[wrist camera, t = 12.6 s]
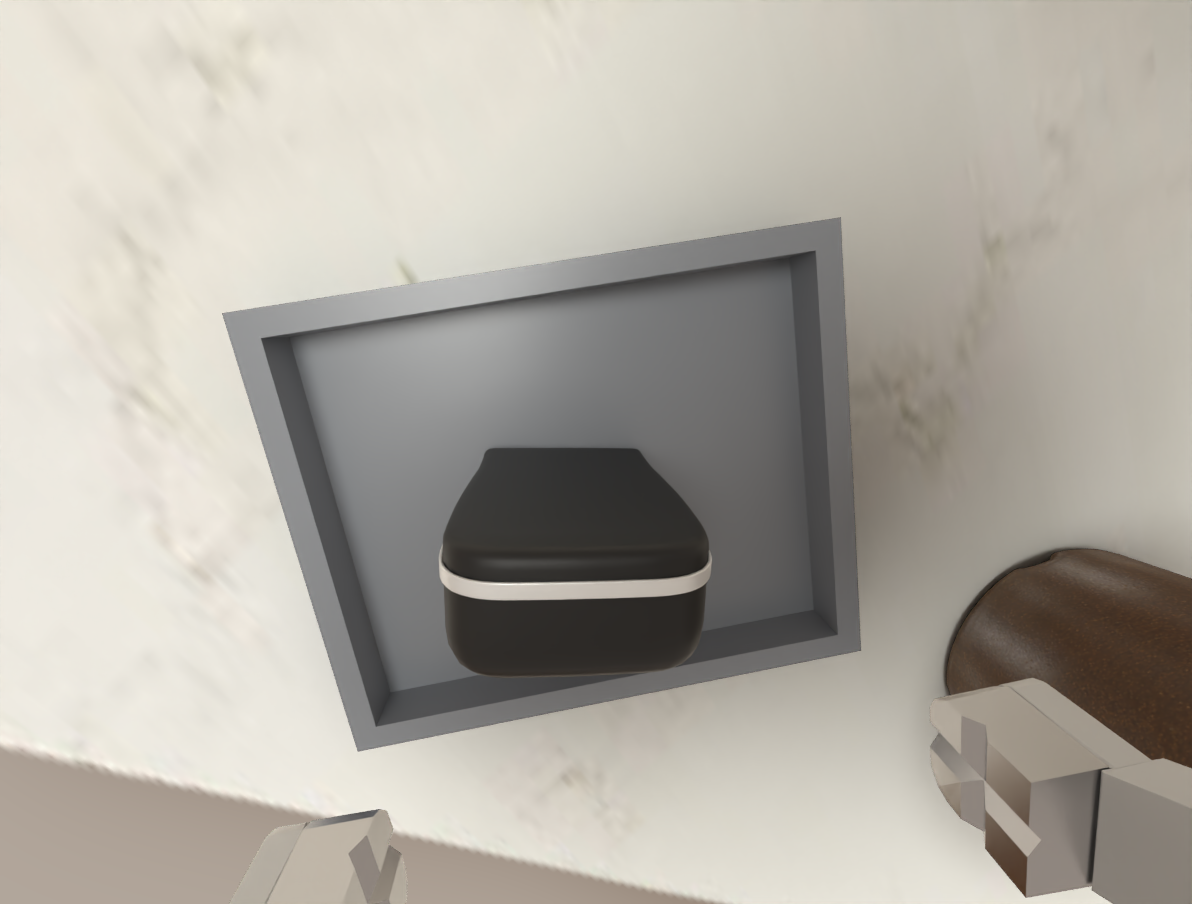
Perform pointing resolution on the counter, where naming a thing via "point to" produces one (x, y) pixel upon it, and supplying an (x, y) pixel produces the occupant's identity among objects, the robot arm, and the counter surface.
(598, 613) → the battery charger
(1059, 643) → the plant pot
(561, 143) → the counter surface
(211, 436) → the counter surface
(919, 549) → the counter surface
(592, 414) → the tray
